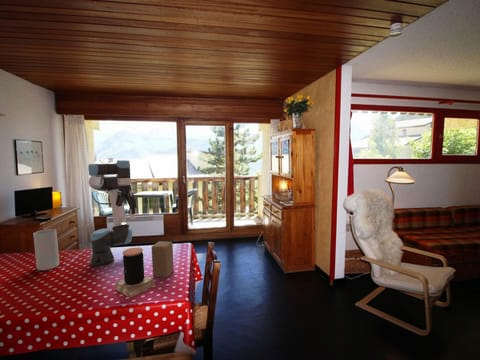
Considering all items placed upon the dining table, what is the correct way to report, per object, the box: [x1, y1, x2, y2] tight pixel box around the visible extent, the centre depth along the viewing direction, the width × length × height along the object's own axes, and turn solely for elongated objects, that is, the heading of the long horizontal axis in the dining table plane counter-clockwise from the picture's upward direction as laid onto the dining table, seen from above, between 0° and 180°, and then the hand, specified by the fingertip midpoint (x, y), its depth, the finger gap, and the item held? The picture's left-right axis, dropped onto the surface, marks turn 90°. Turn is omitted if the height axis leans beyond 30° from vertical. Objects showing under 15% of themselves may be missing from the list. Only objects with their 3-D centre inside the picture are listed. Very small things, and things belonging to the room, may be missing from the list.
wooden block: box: [151, 240, 175, 279], centre depth 161 cm, size 10×10×20 cm
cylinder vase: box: [32, 228, 60, 271], centre depth 174 cm, size 12×12×25 cm
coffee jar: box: [122, 247, 145, 285], centre depth 145 cm, size 11×11×18 cm
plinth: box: [115, 275, 155, 298], centre depth 146 cm, size 15×15×4 cm
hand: (126, 217), depth 161 cm, fingers open, 13 cm apart
